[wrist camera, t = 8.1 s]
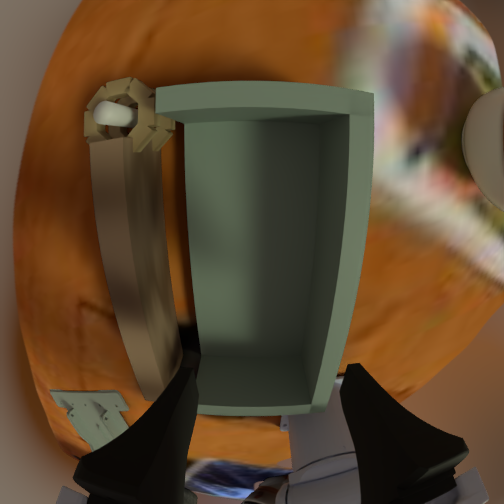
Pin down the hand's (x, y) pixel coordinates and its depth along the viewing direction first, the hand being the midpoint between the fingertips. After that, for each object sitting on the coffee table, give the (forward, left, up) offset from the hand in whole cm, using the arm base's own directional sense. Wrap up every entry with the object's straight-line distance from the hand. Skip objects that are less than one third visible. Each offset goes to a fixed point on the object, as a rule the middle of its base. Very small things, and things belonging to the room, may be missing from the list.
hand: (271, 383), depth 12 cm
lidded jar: (+13, -19, -10) cm, 25 cm away
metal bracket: (-22, +22, -10) cm, 33 cm away
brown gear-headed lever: (+4, +8, -10) cm, 13 cm away
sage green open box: (+3, +2, -9) cm, 10 cm away
